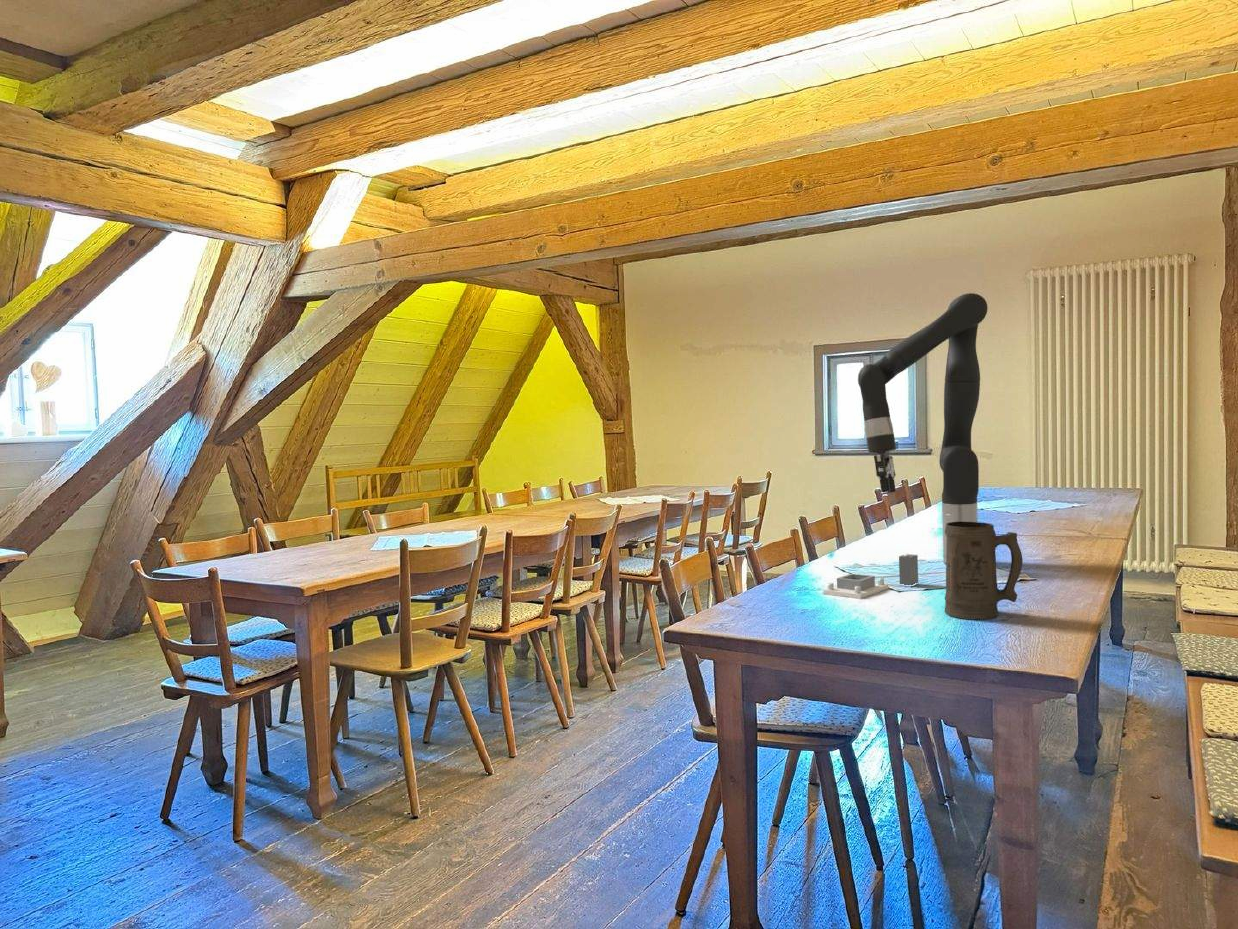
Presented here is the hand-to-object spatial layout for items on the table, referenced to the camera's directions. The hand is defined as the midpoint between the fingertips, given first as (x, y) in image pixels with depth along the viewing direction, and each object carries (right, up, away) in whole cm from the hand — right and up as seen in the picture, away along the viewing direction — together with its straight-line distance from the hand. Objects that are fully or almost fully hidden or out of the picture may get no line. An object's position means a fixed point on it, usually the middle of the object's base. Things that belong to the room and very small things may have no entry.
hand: (888, 492), depth 235 cm
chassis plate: (-17, -24, -26) cm, 39 cm away
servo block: (-2, -23, -22) cm, 32 cm away
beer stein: (+3, -25, -54) cm, 60 cm away
